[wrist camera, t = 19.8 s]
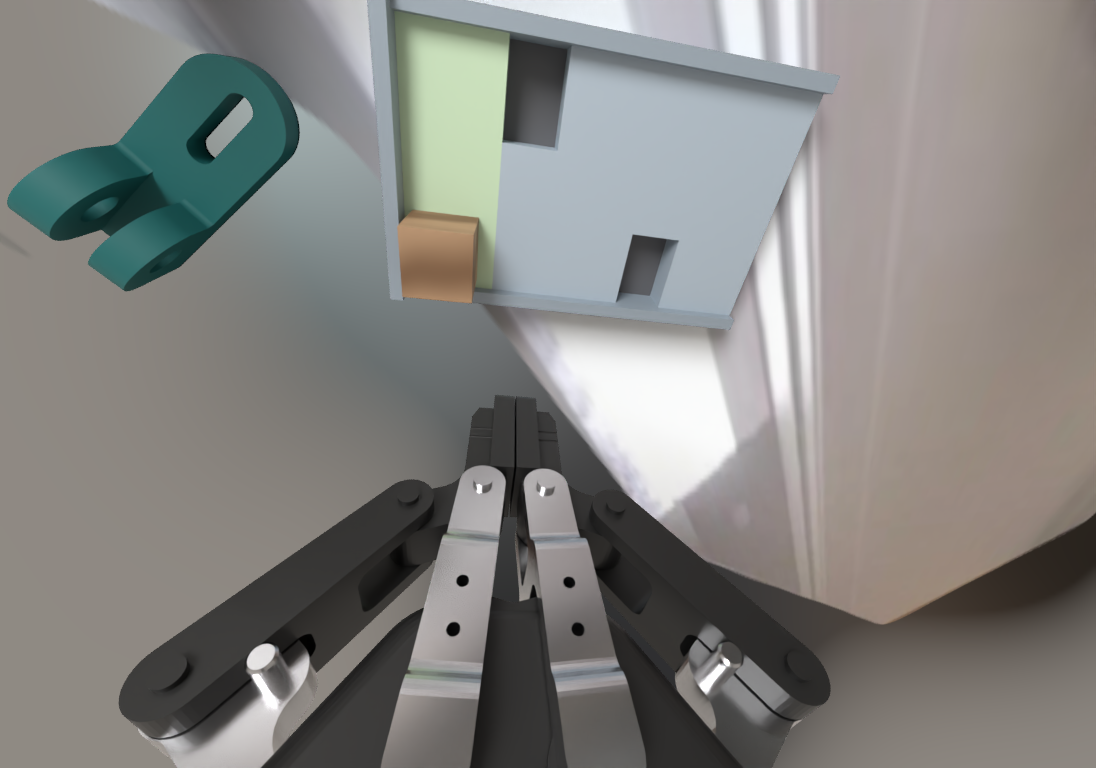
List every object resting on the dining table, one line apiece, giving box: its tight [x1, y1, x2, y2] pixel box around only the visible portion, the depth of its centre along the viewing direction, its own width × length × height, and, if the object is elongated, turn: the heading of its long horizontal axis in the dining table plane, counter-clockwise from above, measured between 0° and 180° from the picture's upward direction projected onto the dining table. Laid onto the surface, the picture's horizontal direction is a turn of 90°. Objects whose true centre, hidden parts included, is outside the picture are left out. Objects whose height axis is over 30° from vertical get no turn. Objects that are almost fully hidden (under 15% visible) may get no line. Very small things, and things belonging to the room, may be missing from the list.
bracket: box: [7, 54, 300, 291], centre depth 28 cm, size 18×7×8 cm, turn 124°
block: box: [397, 210, 479, 303], centre depth 31 cm, size 5×5×5 cm
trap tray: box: [367, 0, 840, 330], centre depth 32 cm, size 19×30×5 cm, turn 82°
